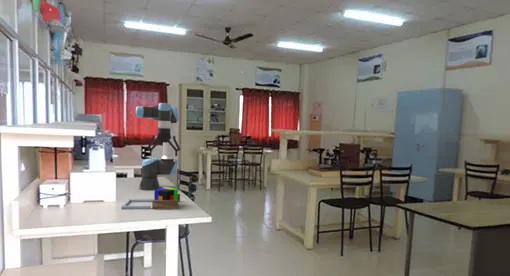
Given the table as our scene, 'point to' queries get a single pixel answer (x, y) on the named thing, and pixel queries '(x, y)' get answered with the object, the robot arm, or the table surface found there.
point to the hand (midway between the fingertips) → (163, 161)
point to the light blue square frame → (136, 206)
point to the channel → (165, 204)
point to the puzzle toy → (166, 194)
